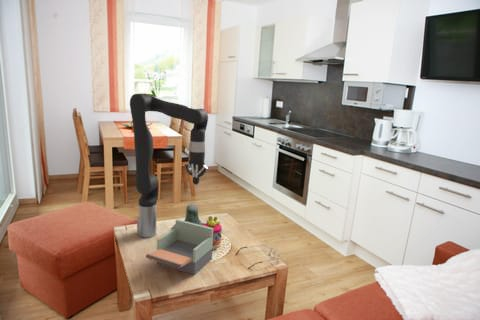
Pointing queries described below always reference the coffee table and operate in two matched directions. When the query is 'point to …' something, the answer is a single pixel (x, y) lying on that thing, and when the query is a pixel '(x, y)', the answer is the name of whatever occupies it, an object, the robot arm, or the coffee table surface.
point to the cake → (215, 231)
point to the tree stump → (192, 215)
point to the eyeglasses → (266, 250)
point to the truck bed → (188, 245)
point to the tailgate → (169, 258)
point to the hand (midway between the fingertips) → (195, 184)
